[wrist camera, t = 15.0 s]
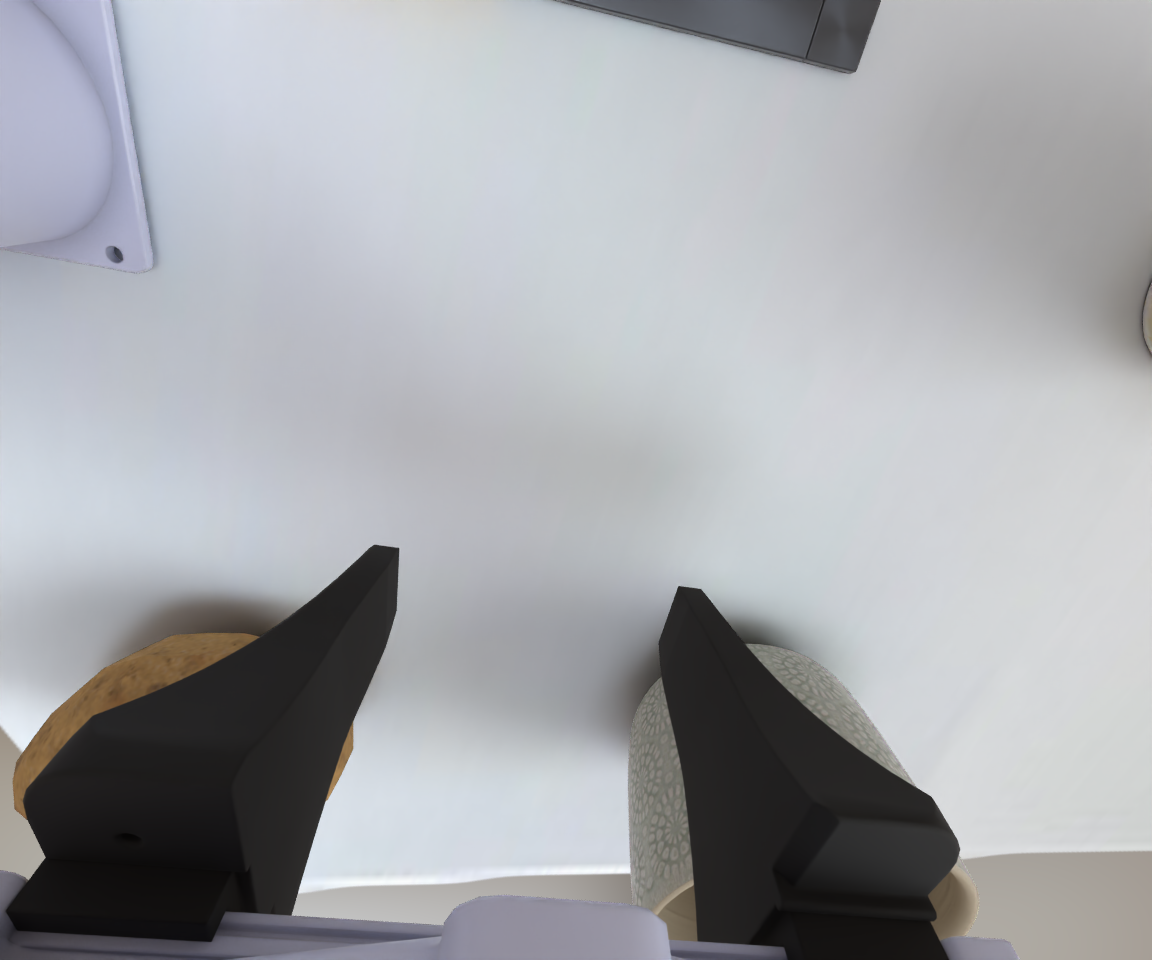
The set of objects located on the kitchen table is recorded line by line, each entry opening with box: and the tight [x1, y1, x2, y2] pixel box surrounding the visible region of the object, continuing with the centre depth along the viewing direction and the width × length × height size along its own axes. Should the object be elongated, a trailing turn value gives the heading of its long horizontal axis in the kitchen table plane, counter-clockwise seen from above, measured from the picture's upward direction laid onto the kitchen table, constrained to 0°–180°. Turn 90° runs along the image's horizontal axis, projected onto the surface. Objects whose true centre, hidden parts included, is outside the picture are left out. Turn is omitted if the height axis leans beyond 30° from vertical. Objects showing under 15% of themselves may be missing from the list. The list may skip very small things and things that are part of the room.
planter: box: [628, 644, 979, 942], centre depth 25 cm, size 12×12×11 cm
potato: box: [13, 633, 353, 819], centre depth 25 cm, size 10×14×8 cm
